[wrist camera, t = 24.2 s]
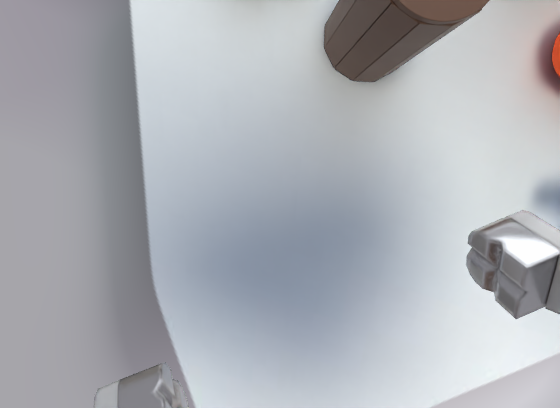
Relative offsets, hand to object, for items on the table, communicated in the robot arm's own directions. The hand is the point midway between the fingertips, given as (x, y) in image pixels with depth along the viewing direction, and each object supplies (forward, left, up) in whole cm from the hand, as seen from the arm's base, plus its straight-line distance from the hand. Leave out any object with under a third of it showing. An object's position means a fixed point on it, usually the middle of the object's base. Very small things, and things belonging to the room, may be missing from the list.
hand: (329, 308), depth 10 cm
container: (+15, +9, -24) cm, 30 cm away
